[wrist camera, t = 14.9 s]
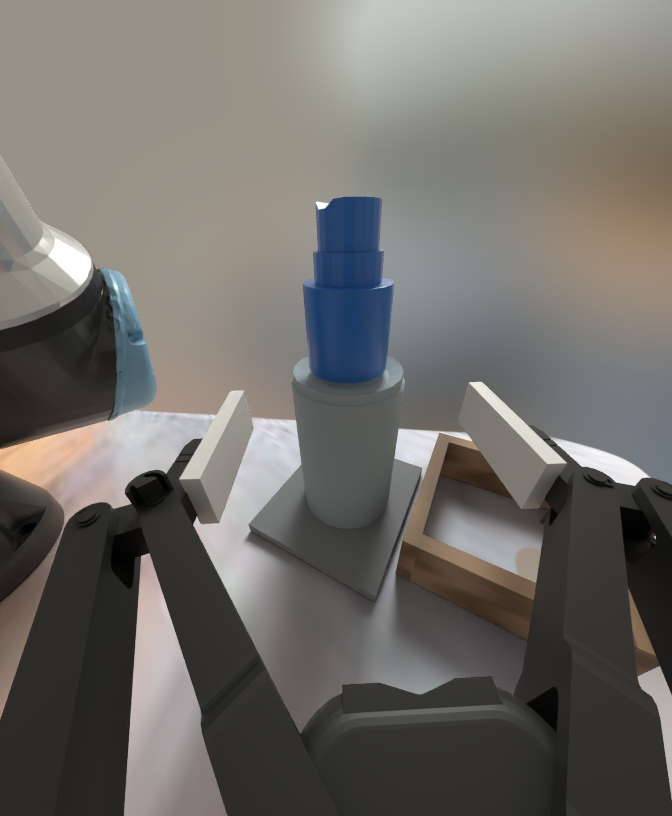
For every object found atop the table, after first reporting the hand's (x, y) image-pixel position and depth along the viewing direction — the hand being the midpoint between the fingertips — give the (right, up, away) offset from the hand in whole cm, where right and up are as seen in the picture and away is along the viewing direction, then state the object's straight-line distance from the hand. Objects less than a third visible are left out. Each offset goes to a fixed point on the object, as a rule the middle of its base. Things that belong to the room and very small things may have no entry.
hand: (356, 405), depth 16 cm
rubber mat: (0, -10, +13) cm, 17 cm away
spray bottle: (0, -9, +13) cm, 16 cm away
